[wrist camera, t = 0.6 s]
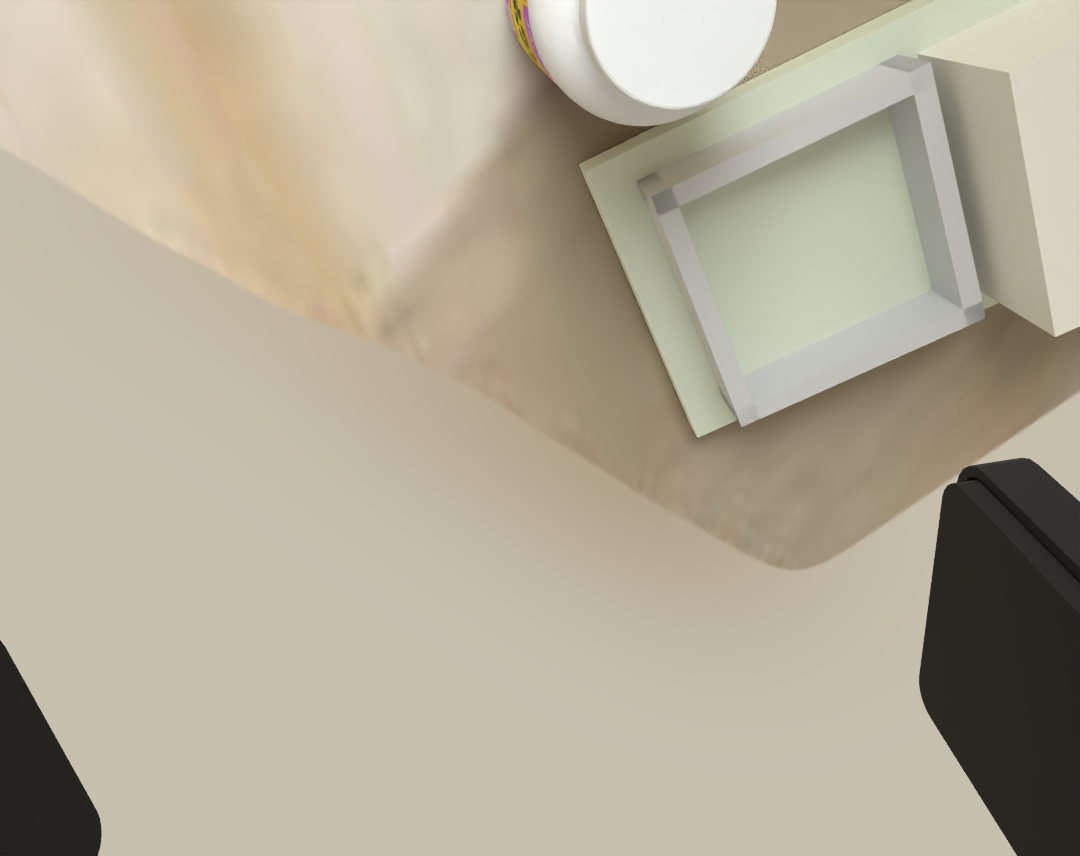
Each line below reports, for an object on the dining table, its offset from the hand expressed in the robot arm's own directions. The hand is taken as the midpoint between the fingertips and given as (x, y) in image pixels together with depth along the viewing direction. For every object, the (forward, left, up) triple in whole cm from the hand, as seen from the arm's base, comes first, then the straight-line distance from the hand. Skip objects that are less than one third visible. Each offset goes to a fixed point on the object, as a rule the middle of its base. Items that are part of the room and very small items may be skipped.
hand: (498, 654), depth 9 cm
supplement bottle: (-7, -2, -29) cm, 30 cm away
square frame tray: (-15, +10, -29) cm, 34 cm away
